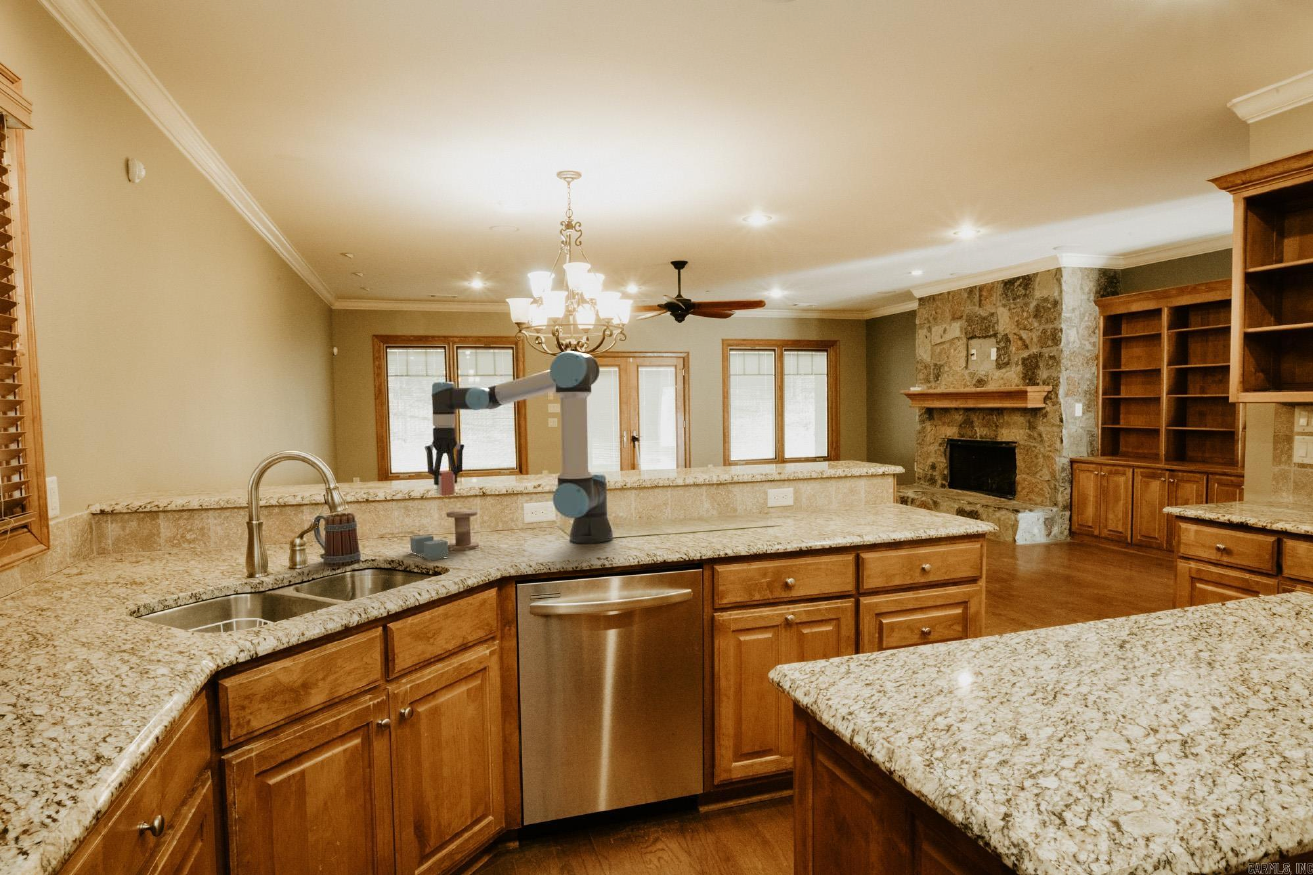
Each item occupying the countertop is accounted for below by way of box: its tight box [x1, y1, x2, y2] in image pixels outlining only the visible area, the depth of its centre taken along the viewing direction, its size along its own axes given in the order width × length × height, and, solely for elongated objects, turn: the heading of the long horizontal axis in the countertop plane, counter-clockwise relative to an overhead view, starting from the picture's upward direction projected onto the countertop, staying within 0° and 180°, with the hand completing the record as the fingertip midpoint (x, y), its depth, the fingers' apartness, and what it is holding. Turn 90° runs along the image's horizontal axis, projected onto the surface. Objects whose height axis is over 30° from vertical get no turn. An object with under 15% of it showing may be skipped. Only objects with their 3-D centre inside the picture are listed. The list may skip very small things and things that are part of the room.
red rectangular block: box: [439, 470, 455, 497], centre depth 236 cm, size 4×4×8 cm
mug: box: [312, 512, 362, 567], centre depth 212 cm, size 16×11×15 cm
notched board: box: [409, 534, 449, 561], centre depth 219 cm, size 16×6×5 cm, turn 40°
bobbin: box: [446, 509, 479, 551], centre depth 229 cm, size 10×10×12 cm
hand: (445, 493), depth 236 cm, fingers closed on red rectangular block, 4 cm apart
